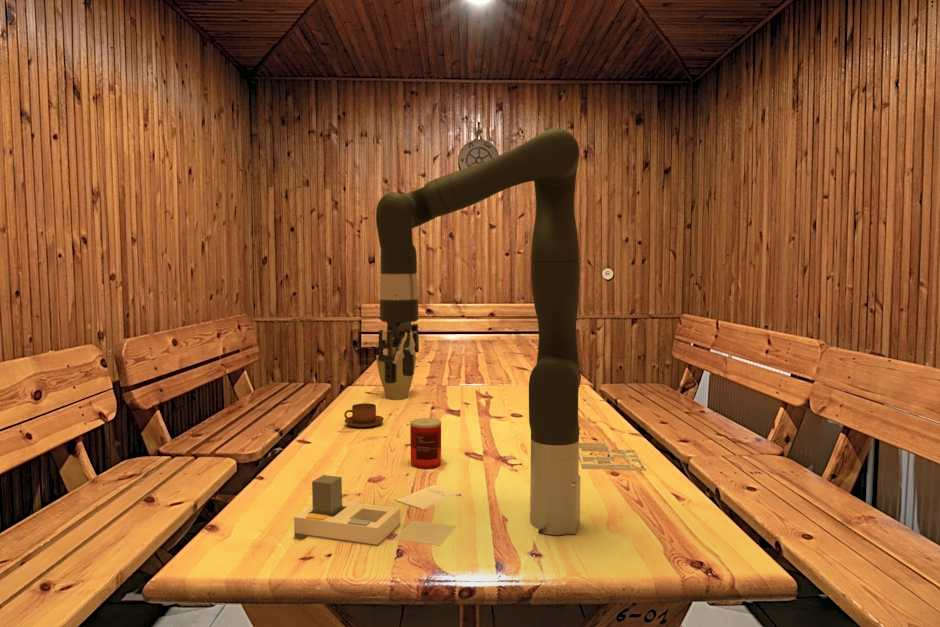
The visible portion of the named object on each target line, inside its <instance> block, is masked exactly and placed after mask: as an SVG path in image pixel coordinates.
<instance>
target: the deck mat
mask: <svg viewBox="0 0 940 627" xmlns="http://www.w3.org/2000/svg"><path fill="white" fill-rule="evenodd" d="M456 527H457V526H456V525H452V524H451V525H450V524H444V523H434V522H429V521H428V522H427V521H419V520H411V521H410V522H409V523H408V524H407V525H406V526H405V527H404V528H403V529H402V530H400V532H399V533H398V534H397V535H396V536H395V537H394V538H393V540H395V541H396V540H397V541H406V542H412V543H418V544H419V543H420V544H426V545H431V546H432V545H434V546H441V545H442V543H444V541H445V540H446V539H447V537H449V535H450V534H452V532H453V530H454V529H456Z"/></svg>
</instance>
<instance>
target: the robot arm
mask: <svg viewBox="0 0 940 627" xmlns="http://www.w3.org/2000/svg"><path fill="white" fill-rule="evenodd" d="M579 162H580V146H579V144H578V141H577V139H576V138H575V137H574V135H573V134H571V133H570V131H567V130H565V129H562V128H556V127H555V128H549V129H546V130H544V131H542V132H540V133H538V134H537V135H536V136H533V137H532V138H530V139H528V140H526V141H525V142H523V143H521V144H519V145H518V146H516V147H514V148H512V149H510V150H508V151H506V152H504V153H501V154H499V155H497V156H495V157H492V158H489V159H487V160H484V161H482V162H479V163H476V164H473V165H470V166H468V167H464V168H462V169H459V170H456V171H454V172H451V173H448V174H445V175H442V176H440V177H437V178H434V179H432V180H430V181H428V182H426V183H425V184H424V186H422V187H420V188H417V189H415V190H413V191H412V190H411V191H409V192H406V193H400V192H397V191H393V192H388V193H386V194H385V195H383V196H381V198H380V199H379V201H378V203H377V206H376V211H375V221H376V230H377V237H378V242H379V247H380V277H379V278H380V279H379V320H380V322H383V323H386V329H379V330H378V351H377V352H378V354H377V355H378V360H379V361H382V362H383V363H385V382H386V383H396V382H397V364H396V362H397V359H398V355H399V354H401V353H402V355H403V356H405V357H403V358H402V361H403V375H404V376H412V375H413V376H414V374H415V369H414V358H413V357H415V355H416V356H417V353H419V351H420V345H419V344H420V343H419V342H420V341H419V339H420V338H419V337H420V336H419V324H418V323H415V322H417V321H418V320H419V282H418V280H419V279H418V266H417V265H418V256H417V254H418V253H417V250H416V247H415V245H414V243H413V229H414V228H417V227H420V226H422V225H423V224H426V223H429V222H430V221H432V220H435V219H436V218H438V217H442V216H446V215H449V214H451V213H454V212H457V211H460V210H462V209H466V208H468V207H471V206H473V205H476V204H478V203H480V202H482V201H484V200H486V199H488V198H490V197H492V196H495V195H496V194H498V193H501V192H502V191H504V190H507V189H510V188H512V187H515V186H518V185H522V184H527V183H530V182H533V183H534V195H535V196H534V197H535V217H534V225H533V230H532V238H531V249H530V251H531V252H530V285H531V294H532V299H533V305H534V310H535V314H536V315H535V316H536V320H537V327H538V346H537V357H536V364H535V366H534V367H533V369H532V370H531V372H530V374H529V381H528V424H529V428H530V477H529V479H530V484H529V486H530V488H529V491H530V492H529V493H530V497H529V500H530V501H529V502H530V503H529V505H530V507H529V508H530V510H529V522H530V524H531V526H533V528H535V529H537V530H538V533H541V534H545V535H552V536H562V535H569V534H570V535H571V534H572V535H576V533H577V531H578V528H579V526H580V522H581V475H579V474H580V473H579V471H580V470H579V466H580V465H579V463H580V460H579V443H580V425H579V389H580V386H581V383H582V382H581V380H582V375H581V368H580V367H581V366H580V360H579V352H578V351H579V350H578V341H577V340H578V339H577V322H578V313H579V312H578V310H579V302H580V301H579V300H580V298H579V297H580V283H581V282H580V281H581V278H580V277H581V276H580V274H581V273H580V270H581V268H580V267H581V266H580V265H581V264H580V260H581V259H580V256H581V255H580V245H579V235H578V234H579V233H578V228H577V222H576V215H575V195H576V194H575V193H576V182H577V181H576V180H577V173H578V166H579ZM383 354H384V355H383Z"/></svg>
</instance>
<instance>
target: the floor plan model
mask: <svg viewBox="0 0 940 627" xmlns="http://www.w3.org/2000/svg"><path fill="white" fill-rule="evenodd" d="M582 452H598V455H601V454H602V455H605V454H604V453H606V454H607V456H596V454H595V455H594V454H593V456H585V455H582ZM630 453H631V454H630ZM632 453H634V454H632ZM614 458H622V459H623V458H624V459H625V458H626V459H627V461H628V463H629V464H628V463H627V464H626V463H613V462H614ZM585 462H593V463H585ZM634 462H636V463H638V464H639V466H640V467H634ZM579 463H580V466H581V469H582V470H584V469H585V470H610V471H611V470H612V471H614V470H615V471H635V472H636V471H638V472H641V471H642V472H646V471H647V468H646V466H645V464H644V462H643V460H642V458H640V457H639V455H638V453H637V452H636V450H635V449H611V448H610V446H608V444H607V443H605V442H602V443H601V442H579Z"/></svg>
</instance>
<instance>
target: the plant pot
mask: <svg viewBox="0 0 940 627" xmlns="http://www.w3.org/2000/svg"><path fill="white" fill-rule="evenodd" d="M383 355H384V353H383ZM403 357H405V356H403V355H402V353H401V354H399V355H398V359H397V362H396V364H397V382H396V383H386V382H385V363H383V362H382V361H379V360H378V354H377V355H375V360H376V364H377V371H378V374H379V375H378V376H379V378H380V383H381V385H382V388H383V391H384V393H385V396H386V398H387V399H388V400H395V401H396V400H397V401H398V400H405V399H407V398H408V395H409V392H410V389H411V386H412V382H413V379H414V375H412V376H404V375H403V361H402V358H403ZM413 358H414V370H415V368H416V362H417V361H416V360H417V359H416V358H417V354H416V355H415V357H413Z"/></svg>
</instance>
